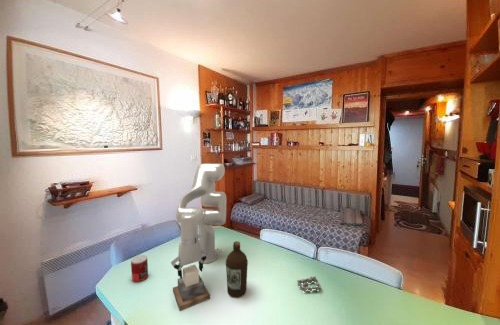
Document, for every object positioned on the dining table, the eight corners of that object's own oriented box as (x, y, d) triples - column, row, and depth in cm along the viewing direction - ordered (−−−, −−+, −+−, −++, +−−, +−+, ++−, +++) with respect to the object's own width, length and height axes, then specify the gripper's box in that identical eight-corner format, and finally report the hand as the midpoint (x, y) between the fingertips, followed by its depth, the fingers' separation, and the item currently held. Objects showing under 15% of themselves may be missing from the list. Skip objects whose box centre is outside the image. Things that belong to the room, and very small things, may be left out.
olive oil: (231, 282, 111) (230, 236, 109) (250, 286, 108) (250, 239, 106) (222, 296, 101) (221, 246, 99) (243, 301, 98) (243, 249, 96)
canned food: (141, 283, 110) (140, 263, 109) (128, 281, 112) (127, 261, 111) (151, 274, 118) (150, 255, 116) (138, 272, 119) (137, 254, 118)
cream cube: (195, 275, 105) (194, 264, 105) (198, 282, 100) (198, 270, 100) (182, 279, 102) (182, 268, 102) (186, 287, 97) (185, 274, 97)
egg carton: (316, 283, 111) (316, 275, 111) (321, 293, 103) (322, 285, 103) (296, 283, 110) (296, 276, 110) (300, 294, 103) (300, 286, 102)
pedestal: (200, 281, 112) (200, 269, 111) (210, 298, 100) (209, 284, 99) (172, 291, 104) (172, 278, 104) (179, 310, 92) (179, 295, 92)
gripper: (204, 232, 107) (205, 263, 109) (168, 240, 98) (170, 275, 100) (210, 238, 101) (210, 271, 103) (172, 247, 92) (173, 284, 94)
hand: (190, 273), depth 101 cm, fingers open, 9 cm apart
